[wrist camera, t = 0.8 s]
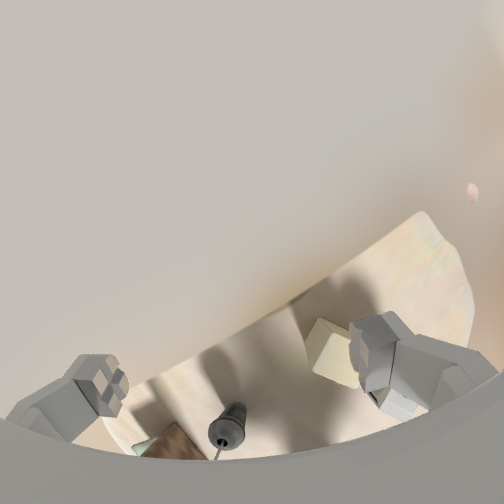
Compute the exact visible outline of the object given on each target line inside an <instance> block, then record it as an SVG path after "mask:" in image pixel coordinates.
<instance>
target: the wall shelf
mask: <svg viewBox="0 0 504 504" xmlns="http://www.w3.org/2000/svg"><path fill="white" fill-rule="evenodd" d="M131 448H132V449H133V451H134V452H135V453H136V454H137V456H140V457H149V458H159V459H174V460H207V459H206V458H205V457H204V456H203V454H202V453H201V452H200V451H199V450H198V449H197V447H196V446H195V445H194V444H193V443H192V441H191V440H190V439H189V438H188V437H187V435H186V434H185V433H184V432H183V430H182V429H181V428H180V426H179V425H178V424H177V422H175V423H173V424H171V425H170V426H169V427H168V428H167V429H166V430H165V431H164V432H163V433H162V434H161V435H160V436H157V437H154V438H152V439H149V440H146V441H143V442H141V443H138V444H135V445H133V446H132V447H131Z"/></svg>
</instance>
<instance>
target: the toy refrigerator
mask: <svg viewBox="0 0 504 504" xmlns="http://www.w3.org/2000/svg"><path fill="white" fill-rule="evenodd" d="M351 340H352V339H351V337H350V335H349V331H348V330H346V329H344V328H342V327H340V326H338V325H335V324H333V323H331V322H329V321H327V320H325V319H323V318H320V317H318V318H317V320H316V322H315V324H314V326H313V328H312V329H311V331H310V333H309V335H308V337H307V339H306V341H305V347H306V351H307V355H308V359H309V364H310V368H311V371H313V372H315V373H317V374H319V375H321V376H324V377H326V378H328V379H331V380H333V381H336V382H338V383H339V384H341V385H342V384H343V385H345V386H348V387H350V388H353V389H356V388H357V387H358V385H359V384H360V382H359V380H358V377H359V373H358V372H356V371H354V369H353V367H352V364H351V361H350V356H349V343H350V342H351Z"/></svg>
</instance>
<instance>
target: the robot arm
mask: <svg viewBox="0 0 504 504" xmlns="http://www.w3.org/2000/svg"><path fill="white" fill-rule="evenodd" d="M349 335H350V337H351V339H352V340H351V342H350V343H349V356H350V361H351V364H352V367H353V369H354V371H356V372H358V373H359V377H358V380H359V382H360V384H361V386H362V388H363V390H364V392H365V393H367V392H371V391H374V390H378V389H381V388H384V387H388V386H389V387H390V388H392V389H393V390H395V391H397V392H398V393H400V394H402V395H403V396H405V397H407V398H408V399H410V400H412V401H413V402H415V403H417V404H419V405H420V406H422V407H424V408H426V409H427V410H429V411H428V412H427V413H425V414H423V415H421V416H418V417H416V418H414V419H411V420H409V421H406V422H404V423H401V424H398V425H396V426H393V427H390V428H388V429H385V430H382V431H379V432H376V433H373V434H370V435H367V436H363V437H360V438H357V439H353V440H350V441H346V442H342V443H338V444H334V445H330V446H326V447H321V448H316V449H312V450H306V451H301V452H295V453H289V454H283V455H275V456H267V457H258V458H247V459H232V460H174V459H159V458H149V457H140V456H132V455H125V454H119V453H113V452H107V451H102V450H97V449H93V448H88V447H84V446H80V445H76V444H72V443H71V442H72V441H73V440H74V439H75V438H76V437H77V436H79V435H80V434H81V433H82V432H83V431H84V430H85V429H86V428H87V427H89V426H90V425H91V424H92V423H93V422H94V421H95V420H96V419H97V418H98V417H99V416H104V417H116V418H117V416H118V413H119V411H120V409H121V407H122V403H121V400H122V399H124V398H125V397H126V396H127V393H128V390H129V383H128V380H127V377H126V375H125V373H124V372H122V371H121V370H120V369H119V362H118V360H117V359H116V357H115V356H113V355H107V354H82V355H79V356H78V357H77V359H76V360H75V361H74V363H73V364H72V365H71V366H70V368H69V369H68V370H67V372H66V373H65V374H64V376H63V377H62V378H61V379H60V378H59V379H57V380H55V381H54V382H52V383H50V384H48V385H47V386H45V387H43V388H41V389H40V390H38V391H36V392H35V393H33V394H31V395H29V396H27V397H26V398H24V399H22V400H21V401H19V402H18V403H17V404H16V405H15V407H14V408H13V409H12V411H11V412H10V413H9V415H8V416H7V418H6V419H5V420H4V419H2V418H0V504H504V369H503V370H502V371H501V372H498V371H497V370H496V369H495V368H494V367H493V366H492V365H491V364H490V363H489V361H488V360H486V358H485V357H484V356H483V355H482V354H481V353H480V352H478V351H474V350H471V349H468V348H464V347H461V346H457V345H454V344H450V343H447V342H444V341H440V340H437V339H434V338H430V337H427V336H424V335H420V334H418V335H414V333H413V332H412V331H411V330H410V329H409V328H408V327H407V326H406V325H405V323H404V322H403V321H402V320H401V319H400V318H399V317H398V316H397V315H396V314H395V313H394V312H393V311H389V312H385V313H382V314H379V315H377V316H373V317H370V318H366V319H362V320H359V321H355V322H351V323H350V324H349Z"/></svg>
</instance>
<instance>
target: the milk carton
mask: <svg viewBox="0 0 504 504" xmlns="http://www.w3.org/2000/svg"><path fill="white" fill-rule="evenodd" d="M360 385H361V384H360ZM367 394H368V395H369V396H370V398H371V399H372V400H373V402H374V403H375V404H376V406H377V407H378V408H379V410H381V411H383V412H385V413H387V414H389V415H391V416H393V417H395V418H397V419H399V420H401V421H403V422H406V421H408V420H409V419H410V417H411V416H412V415H413V413H414V411H415V409H416V407H417V405H418V404H417V403H415V402H413V401H412V400H410V399H408V398H407V397H405V396H403V395H402V394H400V393H398V392H397V391H395V390H393V389H392V388H390V387H389V386H388V387H384V388H381V389H378V390H374V391H371V392H367Z"/></svg>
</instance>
